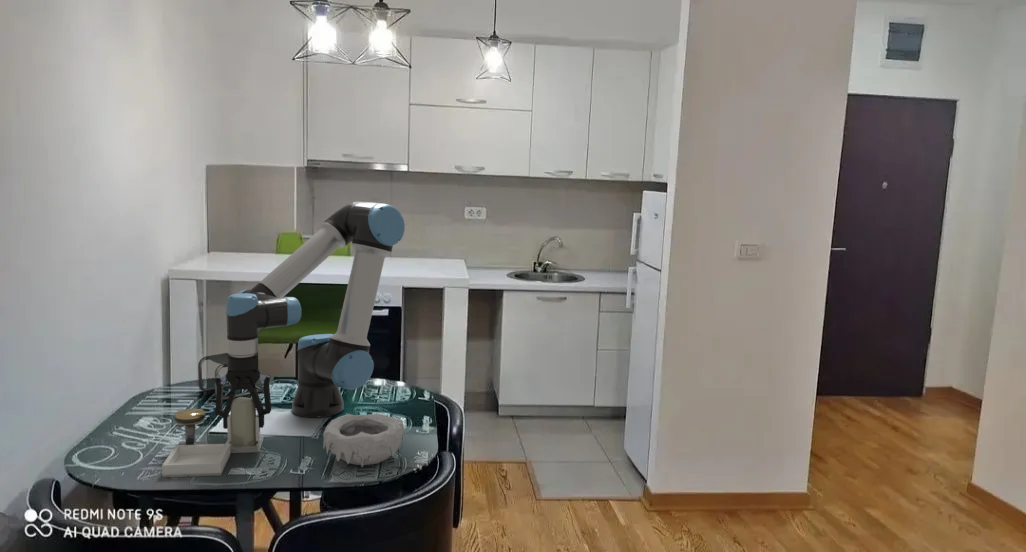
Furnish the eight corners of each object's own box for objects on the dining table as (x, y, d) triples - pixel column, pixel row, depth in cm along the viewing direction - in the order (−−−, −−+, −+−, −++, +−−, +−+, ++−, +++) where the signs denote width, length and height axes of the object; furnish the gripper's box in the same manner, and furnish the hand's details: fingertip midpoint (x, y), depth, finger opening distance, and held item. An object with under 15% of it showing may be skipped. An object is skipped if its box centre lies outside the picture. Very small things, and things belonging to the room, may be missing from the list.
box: (257, 445, 201) (257, 398, 200) (246, 451, 197) (246, 403, 195) (241, 442, 203) (240, 395, 201) (230, 447, 199) (229, 400, 197)
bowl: (410, 472, 187) (411, 433, 186) (324, 479, 182) (324, 439, 180) (398, 442, 207) (399, 407, 206) (321, 448, 201) (321, 411, 200)
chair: (268, 391, 248) (267, 325, 245) (216, 402, 235) (214, 332, 232) (249, 382, 257) (248, 318, 253) (198, 392, 244) (196, 325, 241)
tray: (230, 454, 194) (230, 443, 194) (220, 475, 182) (220, 463, 181) (176, 456, 192) (175, 445, 192) (162, 477, 179) (162, 465, 179)
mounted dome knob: (208, 443, 201) (208, 408, 200) (202, 454, 194) (202, 417, 193) (178, 444, 200) (177, 408, 198) (171, 455, 193) (170, 418, 191)
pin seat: (263, 440, 205) (263, 434, 205) (258, 452, 197) (258, 446, 197) (230, 441, 204) (229, 435, 203) (224, 453, 195) (224, 447, 195)
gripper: (283, 349, 202) (283, 433, 205) (206, 350, 198) (208, 435, 202) (280, 357, 195) (280, 443, 198) (200, 357, 191) (202, 446, 195)
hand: (244, 439), depth 200 cm, fingers closed on box, 6 cm apart
